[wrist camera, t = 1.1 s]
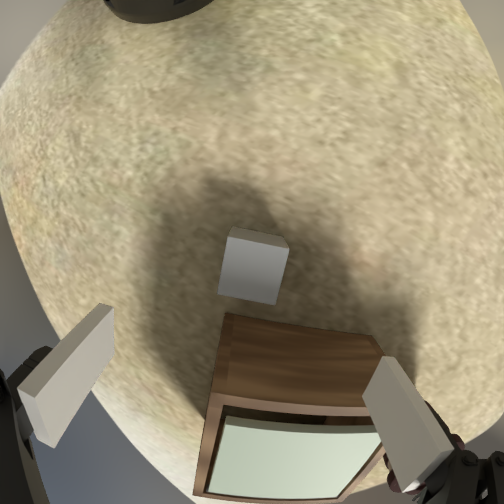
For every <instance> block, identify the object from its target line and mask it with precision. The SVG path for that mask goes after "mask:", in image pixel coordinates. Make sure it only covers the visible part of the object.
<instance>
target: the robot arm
mask: <svg viewBox="0 0 504 504" xmlns="http://www.w3.org/2000/svg"><path fill="white" fill-rule="evenodd" d="M103 1H104V2H105V4H106V5H107V7H108V8H109V9H110V10H111V11H112V12H113V13H114V14H115V15H116V16H117V17H119V18H121V19H123V20H125V21H128V22H133V23H141V24H149V23H159V22H165V21H169V20H173V19H177V18H180V17H183V16H185V15H188V14H190V13H193V12H195V11H197V10H199V9H201V8H203V7H204V6H206V5H208V4H209V3H211V2H212V1H213V0H103ZM113 355H114V307H112V306H108V305H105V304H102V303H99V304H98V305H97V306H96V307H95V308H94V309H93V310H92V311H91V312H90V313H89V314H88V315H87V316H86V317H85V318H84V319H83V320H82V321H81V322H80V323H78V324H77V325H76V326H75V327H74V328H73V329H72V330H71V331H70V332H69V333H68V334H67V335H66V336H65V337H64V338H63V339H62V340H61V342H60V343H59V344H58V345H57V346H56V347H55V348H54V349H53V348H50V347H48V346H44V347H42V348H39V349H37V350H36V351H34V352H33V354H31V355H30V356H29V358H28V359H26V360H25V361H24V362H23V365H22V364H21V365H20V366H19V367H18V368H17V369H16V370H15V371H14V372H13V373H12V375H11V376H10V377H9V378H8V379H7V380H6V379H5V376H4V373H3V371H2V370H1V369H0V504H50V502H49V500H48V497H47V494H46V491H45V488H44V485H43V482H42V479H41V476H40V473H39V469H38V466H37V462H36V459H35V455H34V451H33V447H32V442H31V440H30V437H29V436H30V435H31V433H32V432H33V431H34V433H35V435H36V437H37V439H38V440H39V441H41V442H43V443H45V444H47V445H49V446H51V447H53V448H55V446H56V444H57V443H58V441H59V440H60V438H61V436H62V435H63V433H64V431H65V430H66V428H67V426H68V425H69V423H70V421H71V420H72V418H73V417H74V415H75V413H76V412H77V410H78V409H79V407H80V406H81V404H82V402H83V401H84V399H85V398H86V396H87V395H88V393H89V392H90V390H91V388H92V387H93V385H94V384H95V382H96V381H97V379H98V378H99V376H100V375H101V373H102V372H103V370H104V369H105V367H106V366H107V364H108V363H109V361H110V360H111V358H112V357H113ZM362 398H363V400H364V402H365V405H366V407H367V409H368V412H369V414H370V416H371V418H372V421H373V423H374V425H375V428H376V430H377V432H378V435H379V437H380V439H381V442H382V444H383V447H384V449H385V451H386V454H387V456H388V459H389V461H390V464H391V466H392V469H393V471H394V474H395V476H396V479H397V481H398V484H399V486H400V489H401V491H402V492H406V491H410V490H414V489H417V488H418V487H419V486H420V485H421V484H422V483H423V482H425V484H426V487H425V488H424V489H423V490H422V491H420V492H419V493H418V494H417V495H416V496H415V497H414V498H413V500H412V501H415V500H416V499H417V498H418V497H420V498H419V500H418V501H417V504H504V453H503V452H500V451H495V452H494V453H492V454H491V456H490V457H489V458H488V459H478V457H477V456H476V455H475V454H474V453H472V452H471V451H469V450H461V449H460V447H459V446H458V444H457V443H456V441H455V439H454V438H453V436H452V435H451V433H450V431H449V430H447V427H446V425H445V424H443V423H444V422H443V421H442V419H441V417H440V416H439V415H438V414H437V413H436V412H435V411H434V410H433V409H432V408H429V407H428V406H427V404H426V403H425V401H424V400H423V398H422V397H421V395H420V394H419V392H418V391H417V389H416V388H415V386H414V385H413V383H412V382H411V380H410V379H409V377H408V376H407V374H406V373H405V371H404V370H403V369H402V367H401V366H400V364H399V363H398V361H397V360H396V358H395V357H389V356H382V358H381V360H380V362H379V364H378V366H377V368H376V370H375V372H374V374H373V376H372V378H371V380H370V382H369V384H368V386H367V388H366V390H365V392H364V393H363V395H362ZM486 491H488V495H487V496H486V497H485V498H484V499H482V494H483V493H484V492H486Z"/></svg>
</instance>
